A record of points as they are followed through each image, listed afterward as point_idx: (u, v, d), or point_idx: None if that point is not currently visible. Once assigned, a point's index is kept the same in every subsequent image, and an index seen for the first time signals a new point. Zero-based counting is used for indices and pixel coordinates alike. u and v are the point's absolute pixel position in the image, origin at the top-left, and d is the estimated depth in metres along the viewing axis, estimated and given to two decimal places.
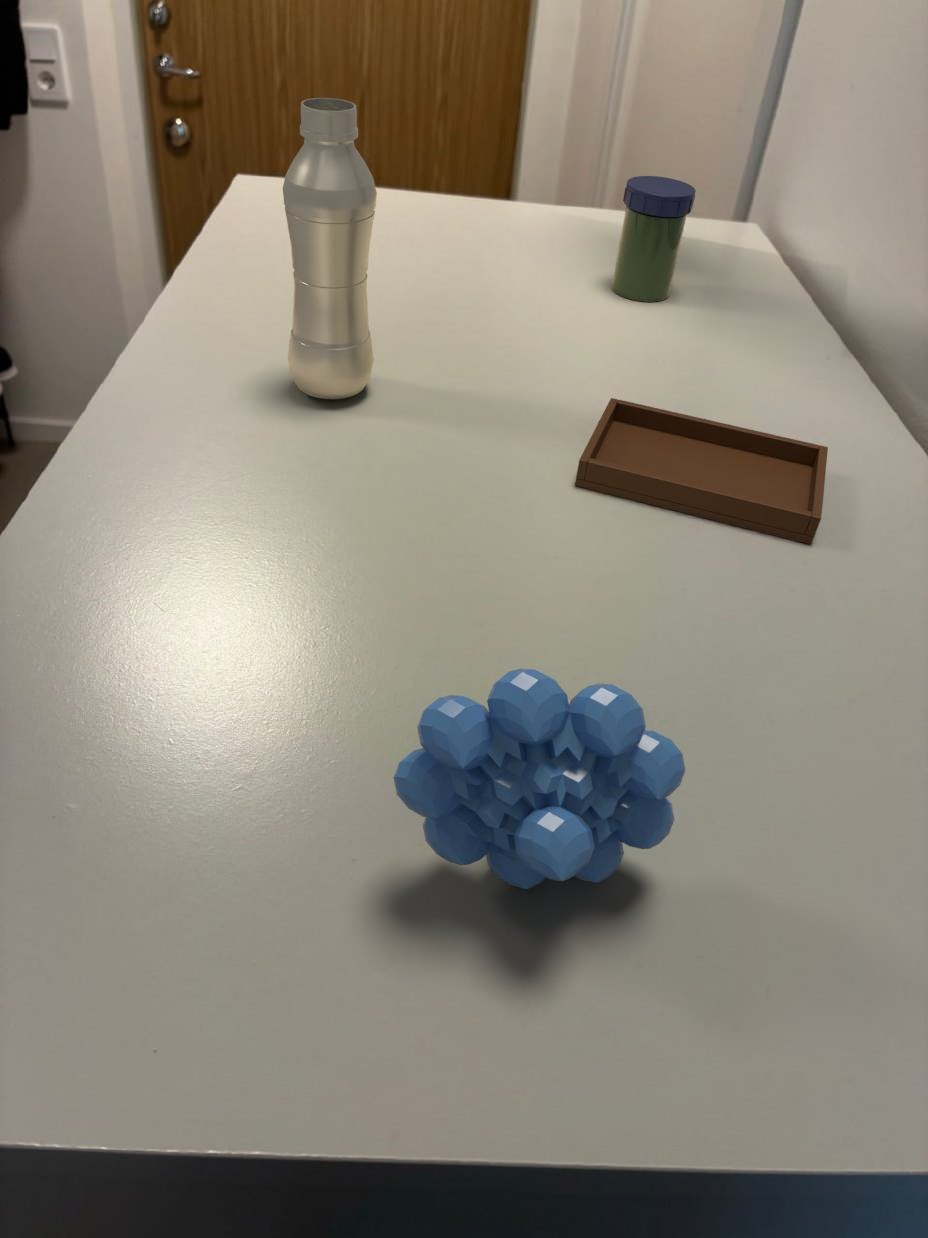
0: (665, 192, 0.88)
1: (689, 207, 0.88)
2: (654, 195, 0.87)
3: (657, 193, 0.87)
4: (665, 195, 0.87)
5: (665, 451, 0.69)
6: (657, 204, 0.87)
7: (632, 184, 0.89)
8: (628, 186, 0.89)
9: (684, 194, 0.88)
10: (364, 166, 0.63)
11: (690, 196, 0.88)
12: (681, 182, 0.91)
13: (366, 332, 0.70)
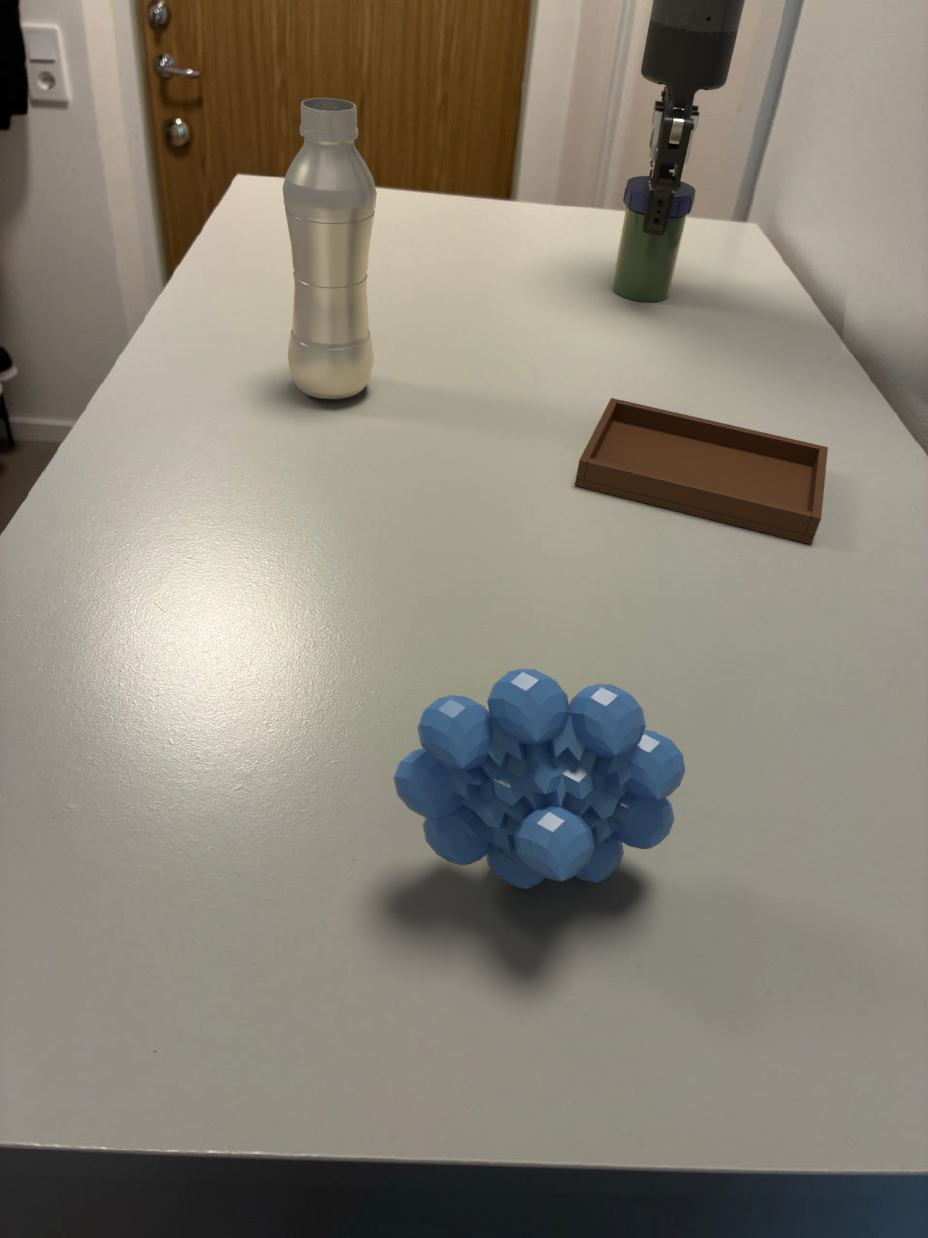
0: None
1: (689, 207, 0.88)
2: None
3: None
4: None
5: (665, 451, 0.69)
6: None
7: (632, 184, 0.89)
8: (628, 186, 0.89)
9: (684, 194, 0.88)
10: (364, 166, 0.63)
11: (690, 196, 0.88)
12: (681, 182, 0.90)
13: (366, 332, 0.70)
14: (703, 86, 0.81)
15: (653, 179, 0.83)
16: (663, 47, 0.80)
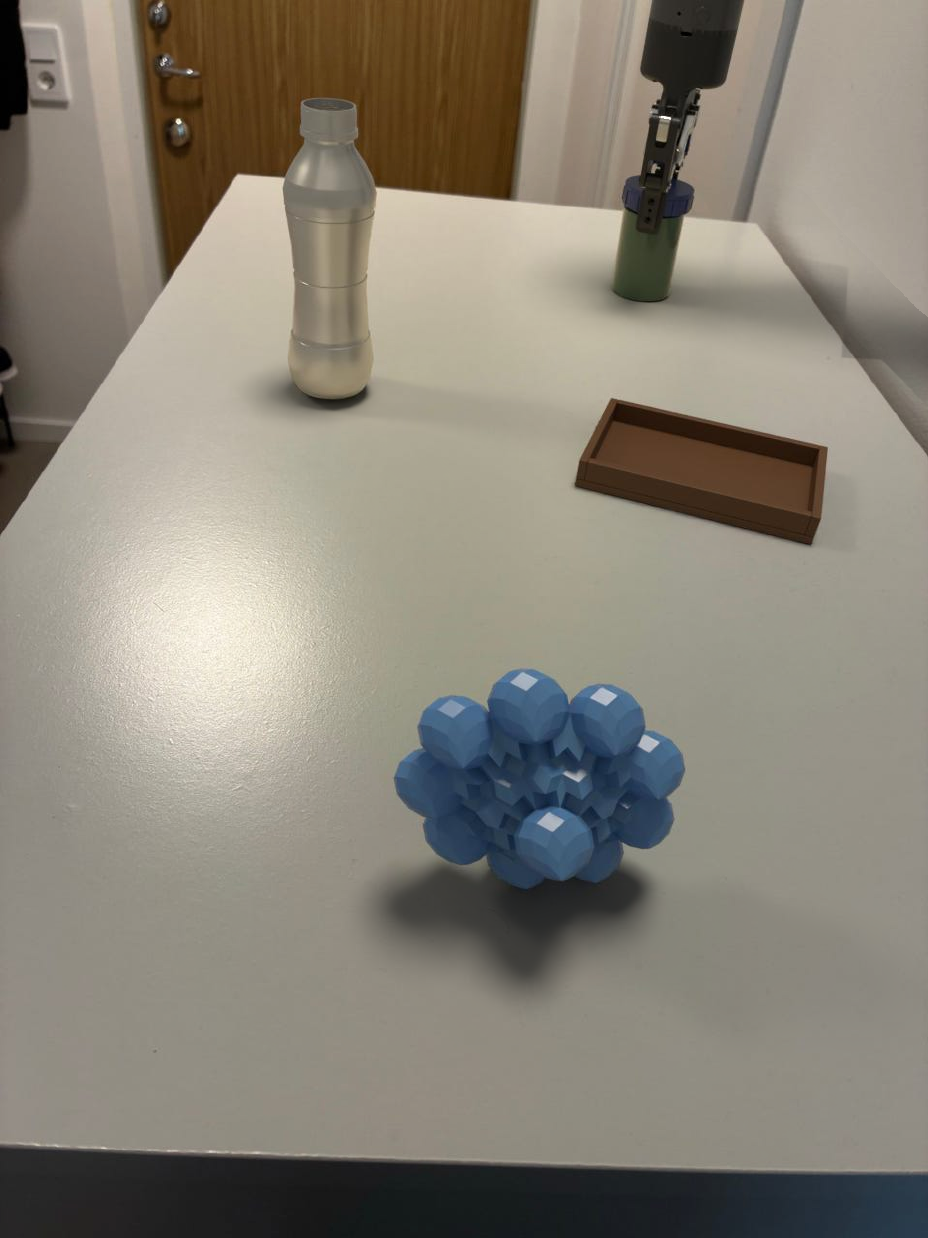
0: None
1: None
2: None
3: None
4: None
5: (665, 451, 0.69)
6: None
7: (689, 187, 0.89)
8: None
9: None
10: (364, 166, 0.63)
11: None
12: (635, 187, 0.87)
13: (366, 332, 0.70)
14: None
15: None
16: None
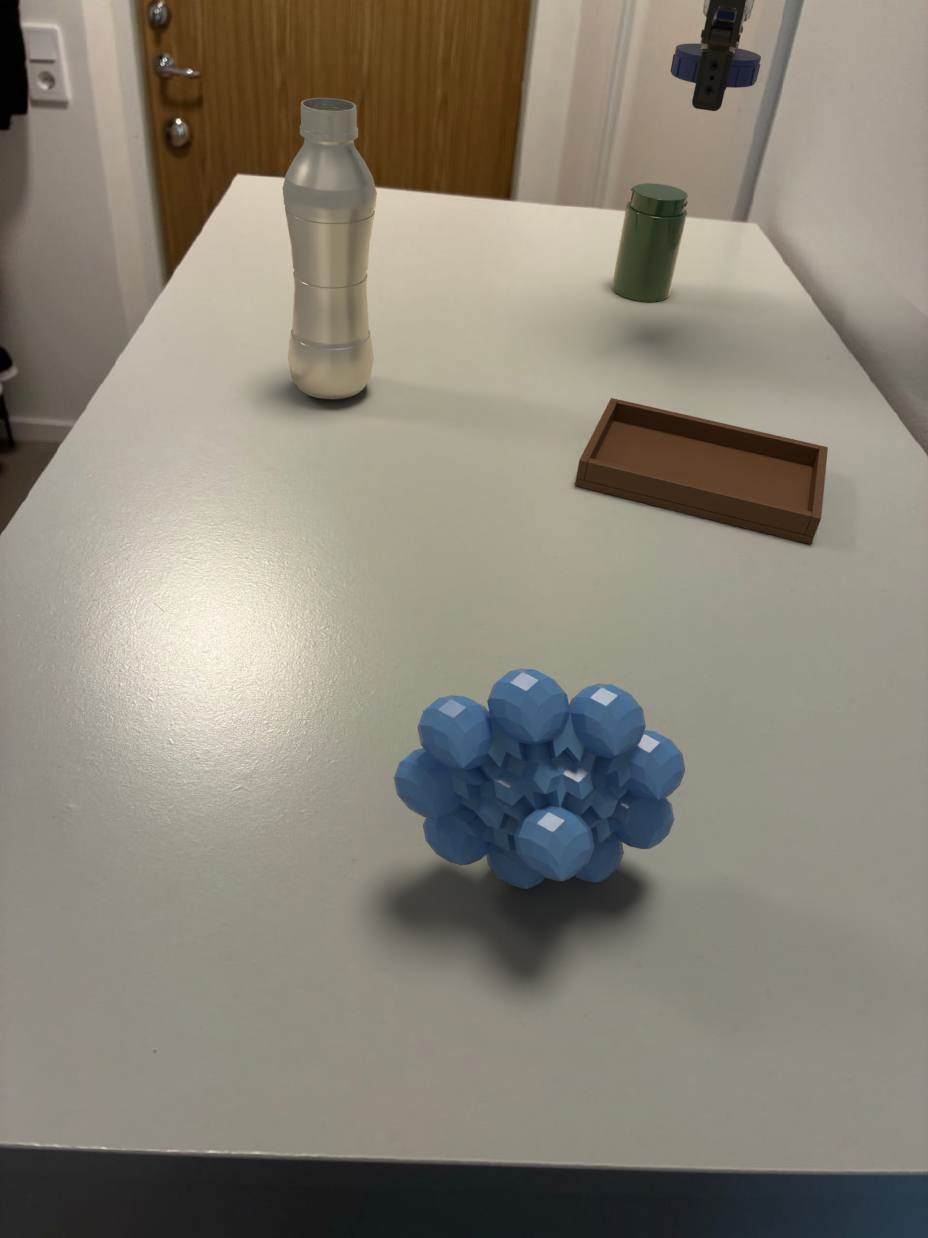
0: None
1: None
2: None
3: None
4: None
5: (665, 451, 0.69)
6: None
7: (754, 54, 0.72)
8: None
9: (692, 44, 0.74)
10: (364, 166, 0.63)
11: None
12: (690, 52, 0.71)
13: (366, 332, 0.70)
14: None
15: None
16: None
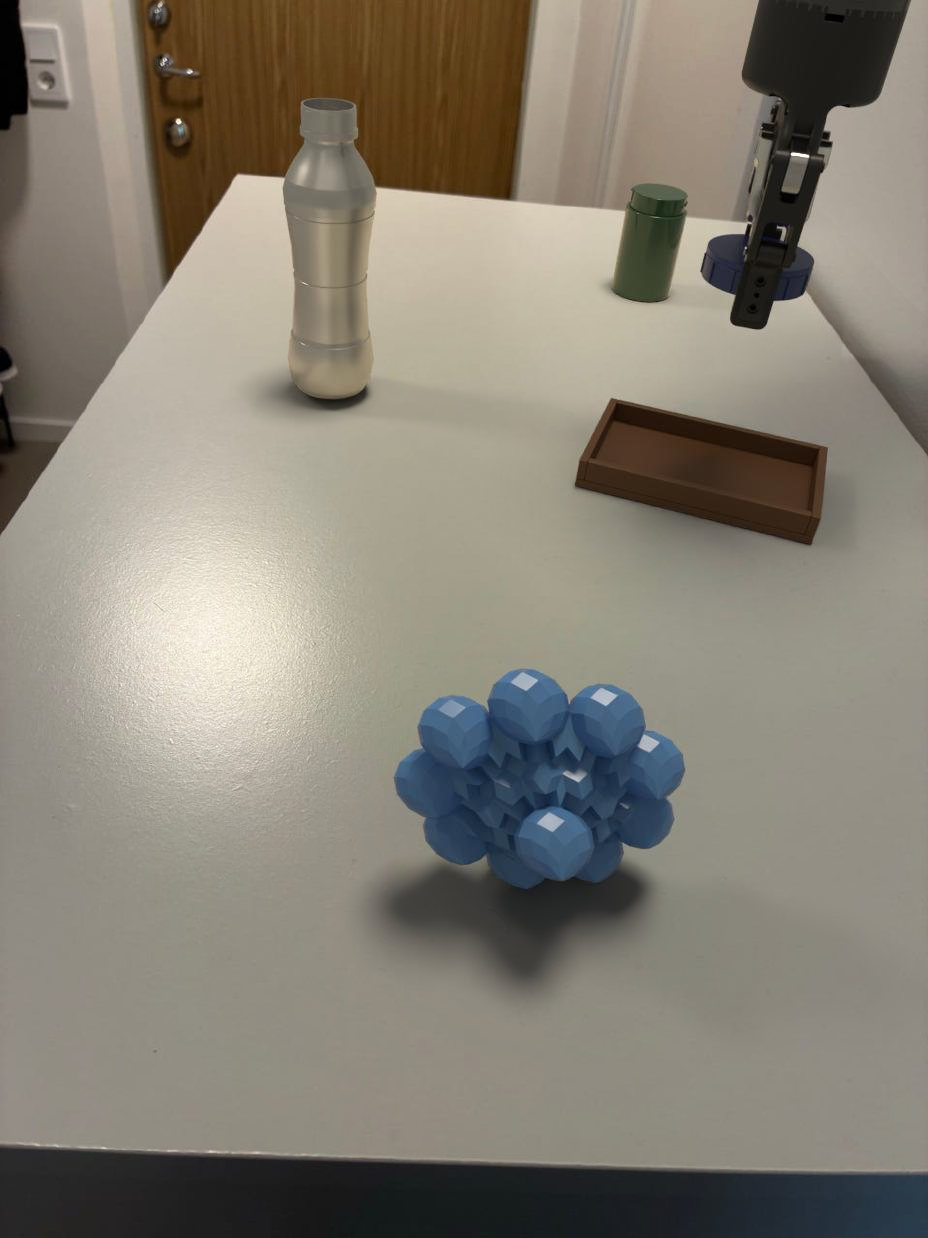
0: None
1: None
2: (770, 238, 0.60)
3: (766, 239, 0.60)
4: None
5: (665, 451, 0.69)
6: None
7: (805, 255, 0.58)
8: None
9: (726, 237, 0.60)
10: (364, 166, 0.63)
11: None
12: (728, 257, 0.57)
13: (366, 332, 0.70)
14: None
15: None
16: None
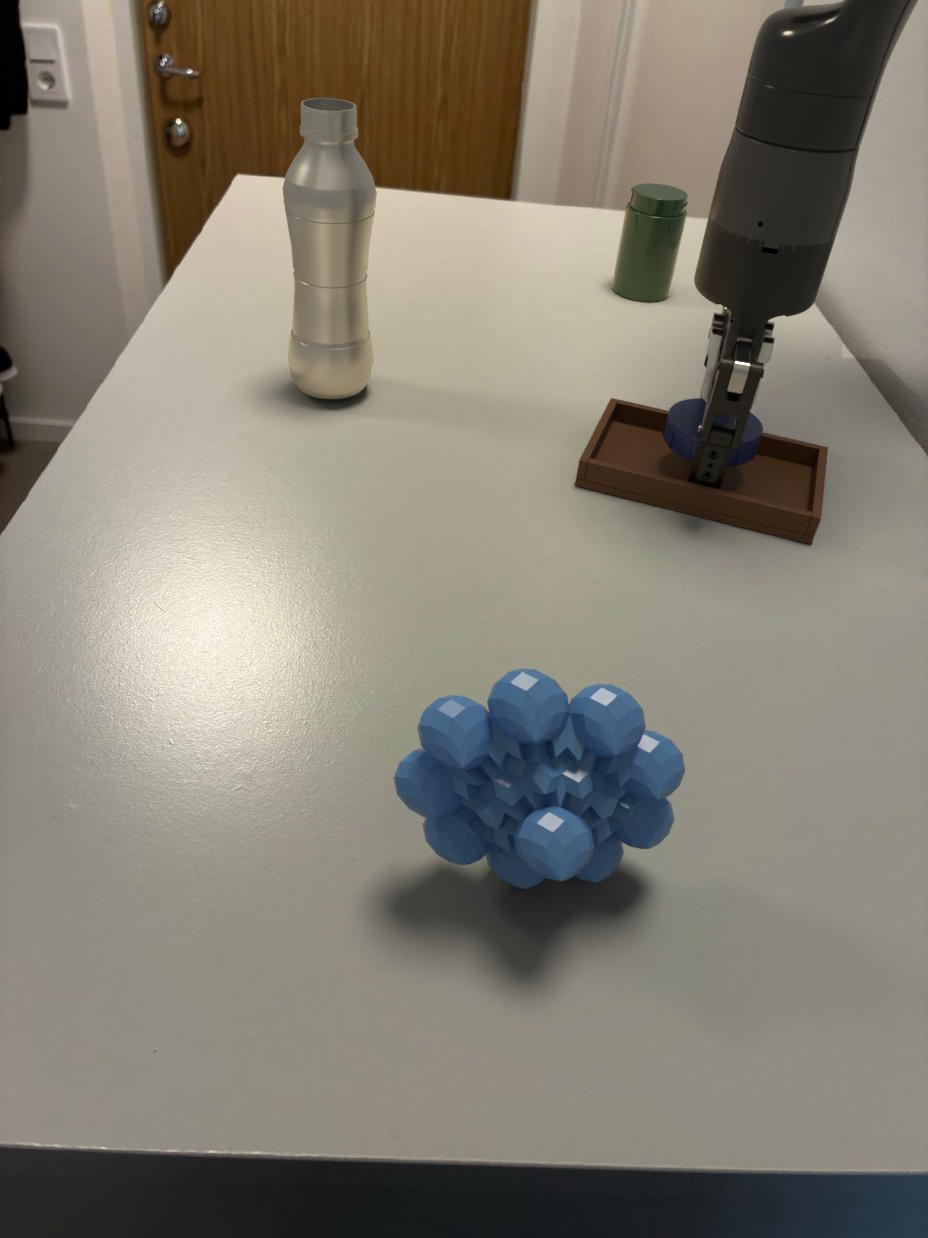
0: None
1: None
2: None
3: None
4: None
5: (665, 451, 0.69)
6: None
7: (755, 422, 0.65)
8: None
9: (686, 403, 0.67)
10: (364, 166, 0.63)
11: None
12: (685, 428, 0.64)
13: (366, 332, 0.70)
14: None
15: None
16: None
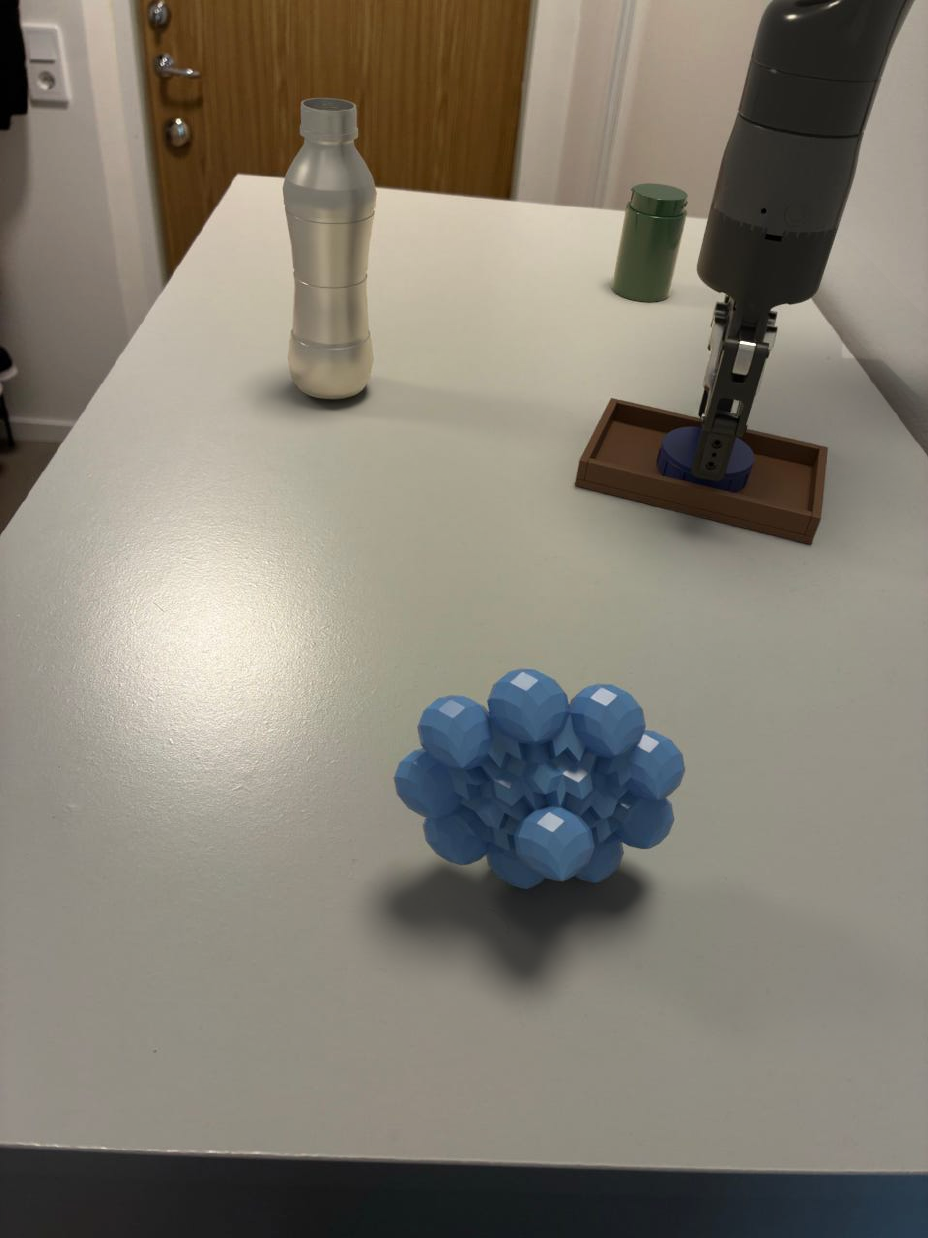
0: None
1: None
2: None
3: None
4: None
5: None
6: None
7: (747, 451, 0.67)
8: None
9: (679, 431, 0.68)
10: (364, 166, 0.63)
11: None
12: (678, 457, 0.65)
13: (366, 332, 0.70)
14: None
15: None
16: None
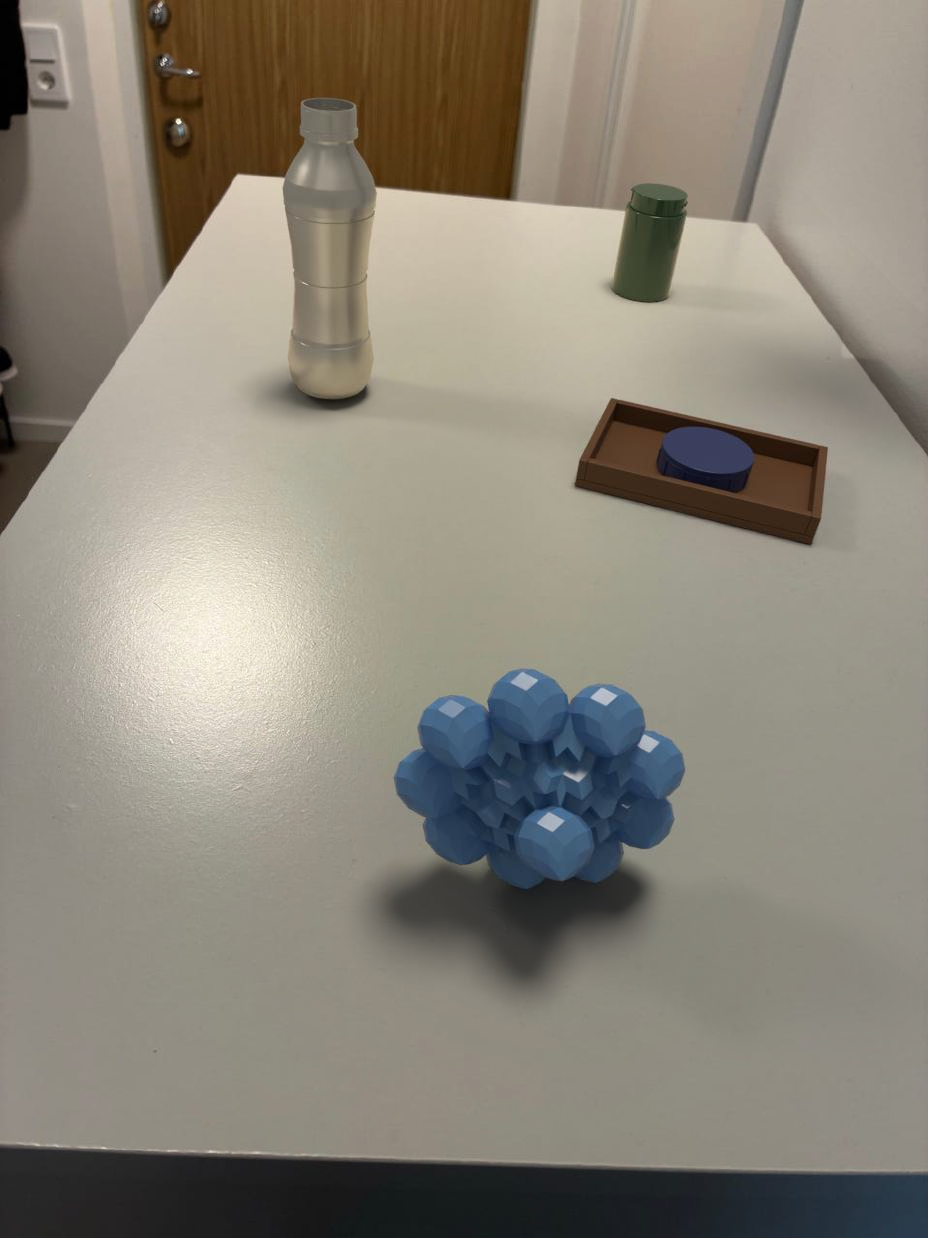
0: (704, 435, 0.68)
1: None
2: None
3: (714, 432, 0.69)
4: (704, 427, 0.69)
5: None
6: None
7: (747, 451, 0.67)
8: None
9: (679, 431, 0.68)
10: (364, 166, 0.63)
11: None
12: (678, 457, 0.65)
13: (366, 332, 0.70)
14: None
15: None
16: None
